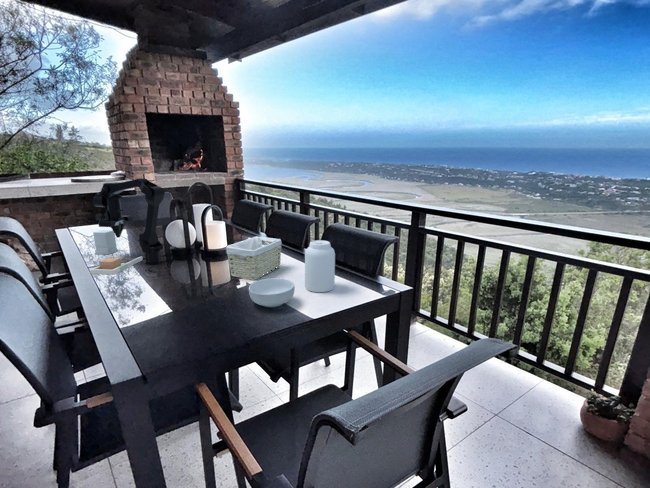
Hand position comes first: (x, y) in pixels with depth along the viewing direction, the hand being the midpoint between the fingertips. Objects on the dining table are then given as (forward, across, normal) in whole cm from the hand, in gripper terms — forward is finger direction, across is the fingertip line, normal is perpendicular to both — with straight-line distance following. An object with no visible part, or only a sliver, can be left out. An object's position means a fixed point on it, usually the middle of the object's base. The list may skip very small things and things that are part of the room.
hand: (118, 237), depth 174 cm
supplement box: (+12, -12, -16) cm, 23 cm away
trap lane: (+12, +11, +6) cm, 17 cm away
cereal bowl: (+12, +50, +90) cm, 104 cm away
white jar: (+12, +33, +107) cm, 113 cm away
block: (+12, +16, +6) cm, 21 cm away
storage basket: (+12, +14, +75) cm, 78 cm away
